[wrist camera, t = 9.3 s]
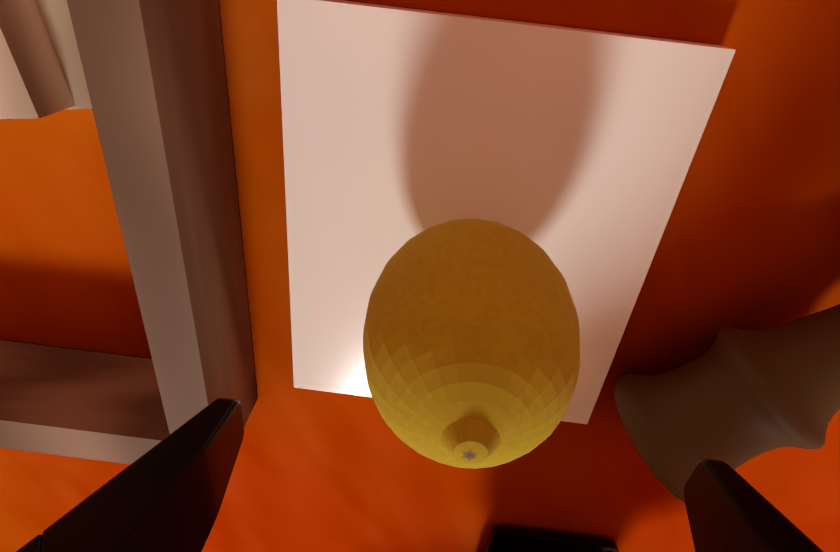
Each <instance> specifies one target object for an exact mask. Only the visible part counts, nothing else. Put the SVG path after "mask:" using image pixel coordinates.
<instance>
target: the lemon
mask: <svg viewBox="0 0 840 552" xmlns="http://www.w3.org/2000/svg"><path fill="white" fill-rule="evenodd" d="M363 353H364V361H365V369H366V376H367V382H368V387H369V390H370V393H371V396H372V398H373V400H374V402H375V404H376V406H377V408H378V411H379V413H380V415H381V416H382V418H383V419H384V421H385V423H386V424H387V425H388V426H389V427H390V428H391V430H392V431H393V432H394V433H395V434H396V435H397V436H398V437H399V438H400V439H401V440H402V441H403V442H404V443H405V444H407V445H408V446H409V447H411V448H412V449H414V450H415V451H416V452H418V453H419V454H421V455H423V456H425V457H428V458H430V459H432V460H434V461H437V462H439V463H442V464H446V465H450V466H454V467H460V468H473V469H476V468H487V467H494V466H497V465H501V464H505V463H508V462H510V461H513V460H515V459H517V458H519V457H521V456H523V455H525V454H527V453H529V452H531V451H532V450H533V449H534V448H536V447H537V446H538V445H539V444H541V443H542V442H543V441H544V440H545V439H547V438H548V437H549V436H550V435H551V434H552V432H553V431H554V430H555V428H556V427H557V426H558V424H559V423H560V421H561V420H562V418H563V417H564V415H565V414H566V412H567V411H568V408H569V405H570V402H571V399H572V396H573V393H574V390H575V387H576V384H577V381H578V375H579V368H580V329H579V320H578V315H577V311H576V308H575V305H574V303H573V300H572V297H571V294H570V291H569V289H568V286H567V283H566V281H565V279H564V277H563V275H562V274H561V272H560V271H559V270H558V268H557V267H556V266H555V264H554V263H553V262H552V260H551V259H550V258H549V256H548V255H547V254H546V252H545V251H544V250H543V249H542V248H541V247H540V246H539V245H537V244H536V243H535V242H533V241H532V240H531V239H529V238H528V237H527V236H525V235H524V234H523V233H522V232H519V231H517V230H515V229H512V228H510V227H508V226H505V225H503V224H500V223H498V222H493V221H487V220H481V219H475V218H474V219H459V220H451V221H447V222H444V223H441V224H438V225H435V226H431V227H429V228H428V229H426V230H424V231H422V232H421V233H419V234H417V235H416V236H414V237H412V238H411V239H409V240H408V241H407V242H406V243H405V244H404V245H403V246H402V247H401V248H400V249H399V250H398V251H397V252H396V253H395V254H394V255H393V256H392V257H391V258H390V259H389V261H388V262H387V264H386V265H385V267H384V269H383V271H382V273H381V275H380V276H379V278H378V280H377V282H376V284H375V286H374V288H373V290H372V293H371V295H370V298H369V303H368V308H367V313H366V319H365V324H364V330H363Z"/></svg>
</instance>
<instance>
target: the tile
mask: <svg viewBox="0 0 840 552" xmlns="http://www.w3.org/2000/svg"><path fill="white" fill-rule="evenodd" d="M277 13H278V35H279V58H280V81H281V104H282V127H283V149H284V172H285V195H286V218H287V240H288V263H289V286H290V309H291V331H292V354H293V377H294V387H295V388H302V389H310V390H318V391H326V392H334V393H342V394H350V395H358V396H366V397H372V396H371V393H370V390H369V387H368V382H367V376H366V369H365V361H364V353H363V330H364V324H365V319H366V313H367V308H368V303H369V298H370V295H371V293H372V290H373V288H374V286H375V284H376V282H377V280H378V278H379V276H380V275H381V273H382V271H383V269H384V267H385V265H386V264H387V262H388V261H389V259H390V258H391V257H392V256H393V255H394V254H395V253H396V252H397V251H398V250H399V249H400V248H401V247H402V246H403V245H404V244H405V243H406V242H407V241H408V240H409V239H411V238H412V237H414V236H416V235H417V234H419V233H421V232H422V231H424V230H426V229H428V228H429V227H431V226H435V225H438V224H441V223H444V222H447V221H451V220H459V219H474V218H475V219H481V220H487V221H493V222H498V223H500V224H503V225H505V226H508V227H510V228H512V229H515V230H517V231H519V232H522V233H523V234H524V235H525V236H527V237H528V238H529V239H531V240H532V241H533V242H535V243H536V244H537V245H539V246H540V247H541V248H542V249H543V250H544V251H545V252H546V254H547V255H548V256H549V258H550V259H551V260H552V262H553V263H554V264H555V266H556V267H557V268H558V270H559V271H560V272H561V274H562V275H563V277H564V279H565V281H566V283H567V286H568V289H569V291H570V294H571V297H572V300H573V303H574V305H575V308H576V311H577V315H578V320H579V329H580V368H579V375H578V381H577V384H576V387H575V390H574V393H573V396H572V399H571V402H570V405H569V408H568V411H567V412H566V414H565V415H564V417H563V418H562V420H561V421H564V422H572V423H580V424H588V421H589V419H590V416H591V414H592V411H593V408H594V406H595V403H596V401H597V398H598V396H599V393H600V391H601V388H602V386H603V383H604V381H605V378H606V376H607V373H608V371H609V368H610V366H611V363H612V361H613V358H614V356H615V353H616V351H617V348H618V346H619V343H620V341H621V338H622V335H623V333H624V330H625V328H626V325H627V323H628V320H629V318H630V315H631V313H632V310H633V308H634V305H635V303H636V300H637V298H638V295H639V293H640V290H641V288H642V285H643V283H644V280H645V278H646V275H647V273H648V270H649V268H650V265H651V262H652V260H653V257H654V255H655V252H656V250H657V247H658V245H659V242H660V240H661V237H662V235H663V232H664V230H665V227H666V225H667V222H668V220H669V217H670V215H671V212H672V210H673V207H674V205H675V202H676V200H677V197H678V195H679V192H680V189H681V187H682V184H683V182H684V179H685V177H686V174H687V172H688V169H689V167H690V164H691V162H692V159H693V157H694V154H695V152H696V149H697V147H698V144H699V142H700V139H701V137H702V134H703V132H704V129H705V127H706V124H707V121H708V119H709V116H710V114H711V111H712V109H713V106H714V104H715V101H716V99H717V96H718V94H719V91H720V89H721V86H722V84H723V81H724V79H725V76H726V74H727V71H728V69H729V66H730V64H731V61H732V59H733V56H734V54H735V51H736V50H735V49H731V48H728V47H724V46H721V45H714V44H706V43H697V42H689V41H680V40H672V39H664V38H655V37H647V36H638V35H630V34H621V33H613V32H605V31H596V30H588V29H579V28H571V27H562V26H554V25H546V24H537V23H529V22H520V21H512V20H503V19H495V18H486V17H478V16H470V15H461V14H453V13H444V12H436V11H427V10H419V9H411V8H402V7H394V6H385V5H377V4H368V3H360V2H352V1H343V0H277Z"/></svg>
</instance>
